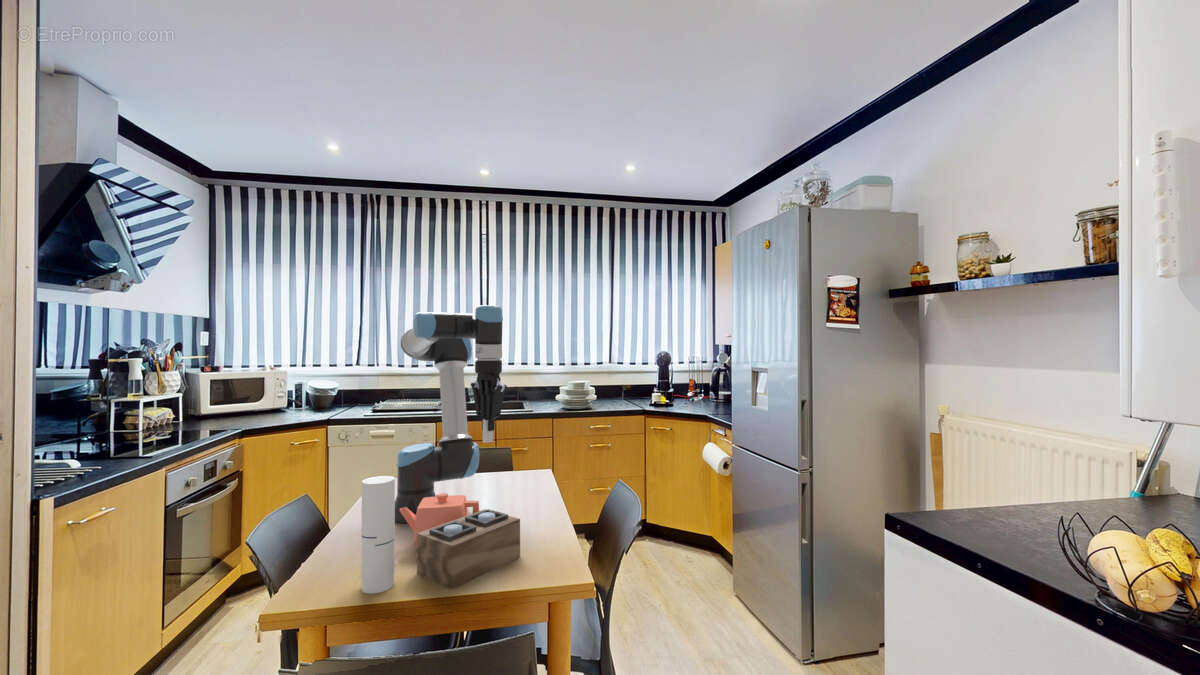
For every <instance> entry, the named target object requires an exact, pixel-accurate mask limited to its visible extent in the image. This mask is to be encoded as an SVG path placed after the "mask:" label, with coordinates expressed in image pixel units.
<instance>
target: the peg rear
mask: <svg viewBox="0 0 1200 675" xmlns="http://www.w3.org/2000/svg"><path fill="white" fill-rule="evenodd" d="M494 518H495V513H492V512H486V513H481V514H479V515H478V519H479V520H483V521H488V520H491V519H494Z"/></svg>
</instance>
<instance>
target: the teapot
mask: <svg viewBox="0 0 1200 675" xmlns="http://www.w3.org/2000/svg"><path fill="white" fill-rule="evenodd" d="M435 495H436V497H425V498H423V499H422V501H421V502H420V504H419V506H418V508H417V513H416V515H415V514H414V513H412V512H411V511H410V510H409V509H408V508H407V507H404V508H400V512H401V514H402V515H403V517H404V518H405V520H406V521H407V523H406V524H407V525H409V527H410V528H411V530H412V531H413V540H414V546H415V547H416V548H417V533H419V532H422V531H425V530H428V529H430V528H433V527H436V526H439V525H442V524H445V523H448V522H450V521H453V520H456V519H459V518H462V517H465V516H467V515H469V510H468V508H472V514H473V513H476V512H479V511H480V503H479V502H480V501H479V500H467V497H466V495H464V494H462V495H461V494H459V495H458V494H457V495H449V494H448V493H446V492H444V493H443V492H442V493H438V494H435Z"/></svg>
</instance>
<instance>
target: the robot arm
mask: <svg viewBox="0 0 1200 675" xmlns="http://www.w3.org/2000/svg"><path fill="white" fill-rule="evenodd" d="M503 319H504V317H503V308H502V307H501V306H499V305H493V304H492V305H489V304H487V305H485V304H483V305H482V304H481V305H477V306H476V307H475V310H474V313H466V312H465V313H462V312H459V313H458V312H455V313H454V312H452V313H451V312H431V311H425V312H423V311H422V312H421V311H419V312H416V314H415V315H414V319H413V328H410V329H408V330H406V332H404V334H402V336H401V339H400V347H401V350H402V351H403V352H404V354H405V355H407V356H408V357H410V358H411V359H413V360H418V361H422V362H434V367H435V369H436V370H437V371H439V372H438V373H439V390H440V391H439V392H440V406H441V408H440V409H441V411H440V412H441V425H442V437H440V440H438V446H435V445H434V443H432V442H424V443H416V444H413V445H408V446H406V447H404V448H402V449H401V450H400V451H399V452H398V454H397V462H396V468H397V470H396V471H397V472H396V474H397V479H396V480H397V482H396V483H397V484H396V490H397V493H396V496H395V523H399V524H408V523H407V521H406V520H405V518H404V517H403V515H402V514H401V512H400V508H404V507H407V508H408V509H409V510H410V511H411V512H412V513H414V514H415V515H416V513H417V508H418V506H419V504H420V502H421V501H422V499H423V498H425V497H436V495H437V494H436V493H435V483H437V482H446V481H452V480H459V479H460V480H461V479H464V478H470V477H472V476H474V475H475V474H476V472H477V470H478V469H479V463H480V449H479V444H478V443H477V442H474V441H473V440H474V439H473V437H472V436H471V434H469V432H468V416H467V415H468V414H467V403H466V387H465V386H466V385H465V374H464V373H465V372H464V368H465V367H466V366H467V365H468V361H470V360H471V359H472V354H473V352H472V350H473V349H472V347H473V346H472V342H471V339H472V340H474V341H475V342H474V344H475V345H474V346H475V348H474V350H475V351H474V352H475V353H474V354H475V355H474V356H475V357H474V358H475V359H477V360H475V362H474V373H475V374H477V377H476V381H475V382H471V383H470V387H471V389H472V393H473V399H474V400H473V401H474V407H475V414H476V416H477V417H480V419H481V430H482V443H484V444H488V443H492V442H494V434H495V433H494V431H495V429H496V428H495V426H496V425H495V424H496V423H495V421H496V419H498V418H500V417H501V413H502V407H503V404H504V403H503V401H504V396H505V392H506V391H507V388H508V386H507V384H503V382H501V380H502V379H501V377H500V376H501V375H500V374H501V373H502V372H503V361H502V360H501V359H502V358H503Z"/></svg>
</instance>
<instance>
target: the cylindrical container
mask: <svg viewBox="0 0 1200 675" xmlns="http://www.w3.org/2000/svg"><path fill="white" fill-rule="evenodd" d="M395 479H396V478H395V476H391V475H378V476H372V477H368V478H365V479H363V480H361V556H360V558H361V562H360V563H361V567H360V568H361V573H360V574H361V582H360V584H361V586H360V587H361V588H360V590H361V592H362V593H364V594H378V593H379V594H380V593H382V592H385V591H388V590H390V589H391V588H392V587H394V585H395V572H396V571H395V567H396V566H395V543H396V542H395V540H396V539H395V536H396V535H395V534H396V533H395V532H396V529H395V525H396V524H395V523H396V522H395V500H396V490H395V489H396V488H395V487H396V480H395Z"/></svg>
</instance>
